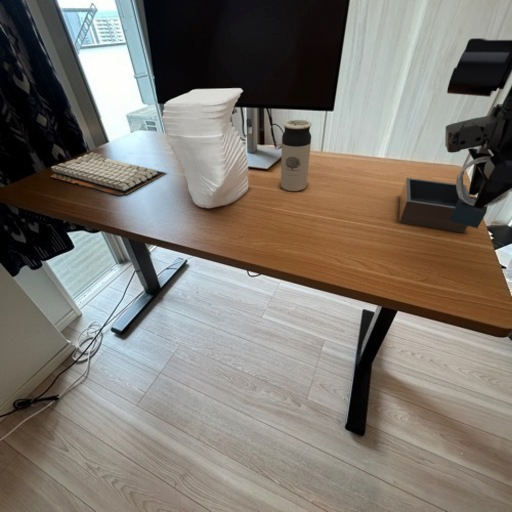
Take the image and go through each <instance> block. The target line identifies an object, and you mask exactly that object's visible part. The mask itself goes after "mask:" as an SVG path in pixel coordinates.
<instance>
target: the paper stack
mask: <svg viewBox="0 0 512 512" xmlns="http://www.w3.org/2000/svg"><path fill="white" fill-rule="evenodd" d="M243 92H244V90H243V89H242V88H241V87H232V88H231V87H230V88H195V89H192V90H190V91H188V92H186V93H183V94H181V95H178V96H176V97H174V98H171V99H169V100H168V101H166V102H165V103H164V104H163V110H162V116H161V119H162V123H163V128H164V130H165V134H166V139H167V141H168V145H169V146H170V150H171V151H172V152H173V155H175V159H177V162H178V164H180V167H181V168H183V172H184V176H185V179H186V181H187V182H186V183H187V188H188V191H189V194H190V196H191V199H192V202H193V203H194V204H195V205H196V206H197V207H199V208H203V209H213V208H218V207H221V206H222V207H223V206H227V205H230V204H233V203H234V202H235V201H237V200H239V199H240V198H241V197H242V196H243V195H244V194H245V193H247V192H248V190H249V186H250V185H249V179H248V174H249V173H248V172H249V164H248V156H247V150H246V146H245V145H243V140H242V139H241V135H240V134H239V130H236V126H233V122H231V121H230V120H231V117H232V115H233V111H234V107H235V106H236V104H237V102H238V99H239V98H240V97H241V94H242V93H243Z"/></svg>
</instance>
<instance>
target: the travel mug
mask: <svg viewBox="0 0 512 512" xmlns="http://www.w3.org/2000/svg"><path fill="white" fill-rule="evenodd" d="M282 125H283V127H284V132H283V133H282V136H281V157H280V160H281V163H280V187H281V188H282V189H283V190H286V191H289V192H298V191H302V190H304V189H306V188H307V186H308V175H309V167H310V166H309V165H310V156H311V147H312V146H311V144H312V134H311V131H310V129H311V127H312V126H313V125H312V122H311V121H309V120H305V119H290V120H286V121H284V122H283V124H282Z"/></svg>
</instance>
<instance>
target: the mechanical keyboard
mask: <svg viewBox="0 0 512 512" xmlns="http://www.w3.org/2000/svg"><path fill="white" fill-rule="evenodd" d="M50 168H51V171H52V172H53V173H52V175H50V178H55V179H57V180H61V181H64V182H68V183H71V184H78V185H79V186H82V187H86V188H93V189H95V190H99V191H101V192H105V193H108V194H113V195H115V196H122V195H128V194H131V193H133V192H134V191H136V190H138V189H140V188H143V186H145V185H148V184H149V183H151V182H153V181H155V180H157V179H158V178H161V177H162V176H164V175H166V174H167V173H166V172H164V171H158V170H156V169H153V168H150V167H149V168H148V167H144V166H140V165H135V164H131V163H128V162H125V161H121V160H116V159H111V158H106V157H105V156H104V155H103V154H102V153H97V152H91V151H90V153H88V154H87V153H86V154H84V155H82V156H79V157H77V158H73V159H71V160H68V161H66V162H64V163H63V162H61V163H58V164H57V165H53V166H51V167H50Z"/></svg>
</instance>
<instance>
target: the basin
mask: <svg viewBox="0 0 512 512" xmlns="http://www.w3.org/2000/svg"><path fill="white" fill-rule="evenodd" d="M463 185H464V189H465V192H466V194H465V195H466V196H471V195H470V194H469V189H468V187H467V185H466V184H463ZM458 200H459V196H458V193H457V189H456V183H453V182H444V181H435V180H428V179H418V178H412V177H406V178H405V181H404V185H403V187H402V190H401V193H400V196H399V223H402V224H408V225H412V226H413V225H414V226H420V227H425V228H431V229H436V230H443V231H449V232H455V233H460V234H464V233H465V231H466V230H467V228H468V226H466V225H463V224H459V223H455V222H451V221H450V218H451V216H452V214H453V211H454V209H455V207H456V205H457V203H458Z"/></svg>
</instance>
